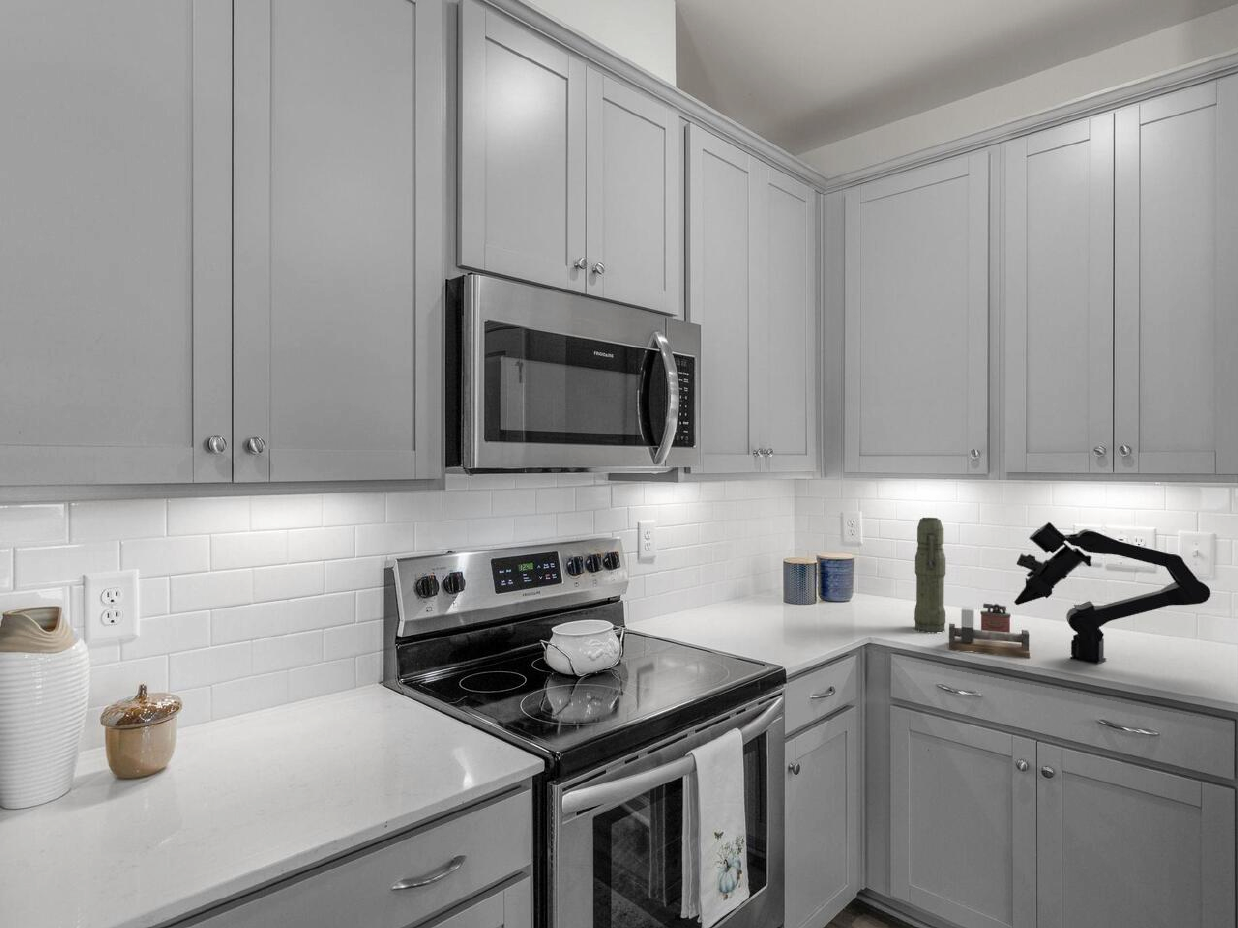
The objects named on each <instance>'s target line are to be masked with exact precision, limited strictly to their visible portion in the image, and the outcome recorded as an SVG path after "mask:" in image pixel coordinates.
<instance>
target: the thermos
mask: <svg viewBox="0 0 1238 928" xmlns="http://www.w3.org/2000/svg"><path fill="white" fill-rule="evenodd" d="M916 543H917V547H916V551H915V552H916V553H915V555H914V574H915V577H916V579H915V581H916V582H915V588H916V589H915V590H916V593H915V601H916V602H915V606H914V609H913V610H914V614H913V615H914V617H913V619H914V629H915V631H918V630H919V631H918V632H921V631H924V632H923V633H927V632H934V633H933V634H938V633H937V632H942V633H944V632H945V631H946V630H945V624H946V610H945V607H944V593H945V591H944V587H945V586H944V581H945V580H944V579H945V576H946V556H945V553H944V548H943V545H944V526H943V523H942V520H941V519H939V518H936V517H922V518H919V521H918V524H917V527H916ZM943 631H944V632H943Z"/></svg>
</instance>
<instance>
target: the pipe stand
mask: <svg viewBox="0 0 1238 928" xmlns="http://www.w3.org/2000/svg"><path fill="white" fill-rule="evenodd" d="M961 631H962V628H961V627H956V624H955V623H951V622H949V623H948V650H949V651H955V650H959V652H964V651H973V652H972V653H974V652H978V654H984V653H987V654H986V655H994V654H997V655H996V656H1003V655H1005V656H1006V657H1013V656H1014V657H1013V658H1023V657H1024V659H1031V652H1030V632H1029V630H1027V629H1021V633H1016V632H1010V633H1007V632H996V631H985V630H981V629H974V628H973V643H965V642H961ZM991 640H992V641H991ZM1012 642H1014V643H1012ZM1005 656H1004V657H1005Z"/></svg>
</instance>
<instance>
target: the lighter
mask: <svg viewBox="0 0 1238 928" xmlns="http://www.w3.org/2000/svg"><path fill="white" fill-rule="evenodd" d="M982 608H984V609H987V610H980V630H985V631H996V632H1007V633H1011V632H1010V631H1011V626H1010V625H1011V621H1010V619H1011V613H1009V612H1006V611H1007V606H1006V605H1000V604H999V603H995V604H992V603H983V604H982Z"/></svg>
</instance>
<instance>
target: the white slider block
mask: <svg viewBox="0 0 1238 928" xmlns="http://www.w3.org/2000/svg"><path fill="white" fill-rule="evenodd" d="M960 622H961V627H960V628H962V631H961V637H960V638H961V642H965V643H973V640H974V638H973V629H974V606H967V605H961V621H960Z"/></svg>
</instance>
